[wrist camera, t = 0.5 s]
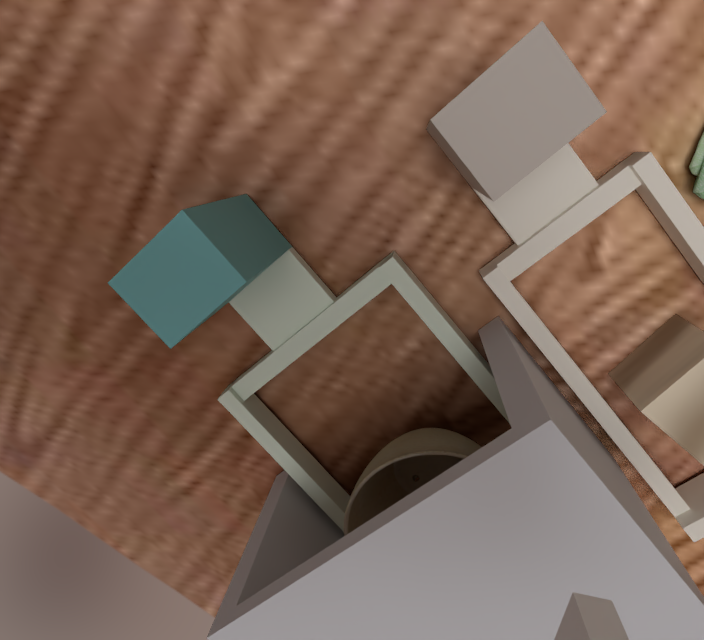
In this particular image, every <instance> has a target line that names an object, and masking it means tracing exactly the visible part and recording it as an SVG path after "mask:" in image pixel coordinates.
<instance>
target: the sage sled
mask: <svg viewBox="0 0 704 640" xmlns="http://www.w3.org/2000/svg"><path fill="white" fill-rule="evenodd" d="M108 284H109V285H110V286H111V287H112V288H113V289H114V290H115V291H116V292H117V293H118V294H119V295H120V296H121V297H122V298H123V299H124V301H125V302H126V303H127V304H128V305H129V306H130V307H131V308H132V309H133V310H134V311H135V312H136V313H137V314H138V315H139V316H140V317H141V318H142V319H143V321H144V322H145V323H146V324H147V325H148V326H149V327H150V328H151V329H152V330H153V331H154V332H155V333H156V334H157V335H158V336H159V337H160V338H161V339H162V340H163V342H164V343H165V344H166V345H167V346H168V347H169V348H170V349H171V348H172V347H174V346H175V345H176V344H177V343H178V342H180V341H181V340H182V339H183V338H185V337H186V336H187V335H188V334H190V333H191V332H192V331H193V330H195V329H196V328H197V327H198V326H200V325H201V324H202V323H203V322H205V321H206V320H207V319H208V318H210V317H211V316H212V315H213V314H215V313H216V312H217V311H218V310H220V309H221V308H222V307H223V306H225V305H226V304H227V303H228V302H229V303H230V304H231V306H232V307H233V308H234V309H235V310H236V311H237V312H238V313H239V314H240V315H241V316H242V318H243V319H244V320H245V321H246V322H247V323H248V324H249V325H250V326H251V327H252V329H253V330H254V331H255V332H256V333H257V334H258V335H259V336H260V337H261V338H262V340H263V341H264V342H265V343H266V344H267V345H268V346H269V347H270V348H271V349H272V350H271V351H270V352H269V353H268V354H267V355H265V356H264V357H263V358H262V359H260V360H259V361H258V362H257V363H256V364H254V365H253V366H252V367H251V368H249V369H248V370H247V371H246V372H244V373H243V374H242V375H241V376H240V377H238V378H237V379H236V380H235V381H233V382H232V383H231V384H230V385H229V386H228V387H227V388H226V389H225V390H224V392H223V393H222V394H221V395H220V397H219V398H218V401H219V402H220V403H221V404H222V405H223V406H224V407H225V408H226V409H227V410H228V411H229V412H230V413H231V414H232V415H233V416H234V417H235V418H236V419H237V420H238V422H239V423H240V424H241V425H242V426H243V427H244V428H245V429H246V430H247V431H248V432H249V433H250V434H251V435H252V436H253V437H254V438H255V439H256V440H257V441H258V443H259V444H260V445H261V446H262V447H263V448H264V449H265V450H266V451H267V452H268V453H269V454H270V455H271V456H272V457H273V458H274V459H275V460H276V461H277V462H278V464H279V465H280V466H281V467H282V468H283V469H284V470H285V471H286V472H287V473H288V474H289V475H290V476H291V477H292V478H293V479H294V480H295V481H296V482H297V483H298V485H299V486H300V487H301V488H302V489H303V490H304V491H305V492H306V493H307V494H308V495H309V496H310V497H311V498H312V499H313V500H314V501H315V502H316V503H317V505H318V506H319V507H320V508H321V509H322V510H323V511H324V512H325V513H326V514H327V515H328V516H329V517H330V518H331V519H332V520H333V521H334V522H335V523H336V524H337V526H338V527H339V528H340V529H341V530H342V531H343V532H344V516H345V511H346V508H347V505H348V502H349V499H350V496H349V495H348V493H347V492H346V491H345V490H344V489H343V488H342V487H341V486H340V485H339V484H338V483H337V482H336V481H335V480H334V479H333V477H332V476H331V475H330V474H329V473H328V472H327V471H326V470H325V469H324V468H323V467H322V466H321V465H320V464H319V462H318V461H317V460H316V459H315V458H314V457H313V456H312V455H311V454H310V453H309V452H308V451H307V450H306V449H305V448H304V446H303V445H302V444H301V443H300V442H299V441H298V440H297V439H296V438H295V437H294V436H293V435H292V434H291V433H290V431H289V430H288V429H287V428H286V427H285V426H284V425H283V424H282V423H281V422H280V421H279V420H278V419H277V418H276V417H275V415H274V414H273V413H272V412H271V411H270V410H269V409H268V408H267V407H266V406H265V405H264V404H263V403H262V402H261V400H260V399H259V398H258V397H257V396H256V395H255V394H254V393H255V392H256V391H257V390H258V389H260V388H261V387H262V386H263V385H265V384H266V383H267V382H269V381H270V380H271V379H272V378H274V377H275V376H276V375H277V374H279V373H280V372H281V371H282V370H284V369H285V368H286V367H287V366H289V365H290V364H291V363H292V362H294V361H295V360H296V359H297V358H299V357H300V356H301V355H302V354H304V353H305V352H306V351H307V350H309V349H310V348H311V347H313V346H314V345H315V344H316V343H318V342H319V341H320V340H321V339H323V338H324V337H325V336H326V335H328V334H329V333H330V332H331V331H333V330H334V329H335V328H336V327H338V326H339V325H340V324H341V323H343V322H344V321H345V320H346V319H348V318H349V317H350V316H352V315H353V314H354V313H355V312H357V311H358V310H359V309H360V308H362V307H363V306H364V305H365V304H367V303H368V302H369V301H370V300H372V299H373V298H374V297H375V296H377V295H378V294H379V293H380V292H382V291H383V290H384V289H385V288H387V287H388V286H389V285H391V284H392V285H393V286H394V287H395V288H396V289H397V291H398V292H399V293H400V294H401V295H402V296H403V298H404V299H405V300H406V301H407V302H408V304H409V305H410V306H411V307H412V308H413V310H414V311H415V312H416V313H417V314H418V315H419V317H420V318H421V319H422V320H423V321H424V323H425V324H426V325H427V326H428V327H429V329H430V330H431V331H432V332H433V333H434V334H435V336H436V337H437V338H438V339H439V340H440V342H441V343H442V344H443V345H444V346H445V348H446V349H447V350H448V351H449V352H450V354H451V355H452V356H453V357H454V358H455V359H456V361H457V362H458V363H459V364H460V365H461V367H462V368H463V369H464V370H465V371H466V373H467V374H468V375H469V376H470V377H471V378H472V380H473V381H474V382H475V383H476V384H477V386H478V387H479V388H480V389H481V390H482V392H483V393H484V394H485V395H486V396H487V397H488V399H489V400H490V401H491V402H492V403H493V405H494V406H495V407H496V408H497V409H498V411H499V412H500V413H501V414H502V415H503V416H504V418H505V419H506V420H507V421H508V422H509V419H508V416H507V413H506V411H505V408H504V405H503V402H502V399H501V396H500V393H499V390H498V387H497V384H496V382H495V379H494V376H493V373H492V370H491V367H490V365H489V364H488V363H487V362H486V360H485V359H484V358H483V357H482V356H481V354H480V353H479V352H478V351H477V350H476V348H475V347H474V346H473V345H472V343H471V342H470V341H469V340H468V339H467V337H466V336H465V335H464V334H463V333H462V331H461V330H460V329H459V328H458V327H457V325H456V324H455V323H454V322H453V321H452V319H451V318H450V317H449V316H448V315H447V313H446V312H445V311H444V310H443V309H442V307H441V306H440V305H439V304H438V303H437V301H436V300H435V299H434V298H433V296H432V295H431V294H430V293H429V292H428V290H427V289H426V288H425V287H424V286H423V284H422V283H421V282H420V281H419V280H418V278H417V277H416V276H415V275H414V274H413V272H412V271H411V270H410V269H409V268H408V266H407V265H406V264H405V263H404V262H403V260H402V259H401V258H400V257H399V256H398V254H397V253H396V252H395V251H393V252H392V253H390V254H389V255H388V256H387V257H385V258H384V259H383V260H382V261H381V262H379V263H378V264H377V265H376V266H374V267H373V268H372V269H371V270H369V271H368V272H367V273H366V274H365V275H363V276H362V277H361V278H360V279H358V280H357V281H356V282H355V283H354V284H352V285H351V286H350V287H349V288H347V289H346V290H345V291H344V292H343V293H341V294H340V295H339V296H338V297H336V296H335V295H334V294H333V293H332V292H331V291H330V289H329V288H328V287H327V286H326V285H325V284H324V283H323V281H322V280H321V279H320V278H319V277H318V276H317V274H316V273H315V272H314V271H313V270H312V269H311V268H310V266H309V265H308V264H307V263H306V262H305V261H304V260H303V258H302V257H301V256H300V255H299V254H298V253H297V251H296V250H295V249H294V248H293V247H292V246H291V245H290V243H289V242H288V241H287V240H286V239H285V238H284V236H283V235H282V234H281V233H280V232H279V231H278V230H277V228H276V227H275V226H274V225H273V224H272V223H271V221H270V220H269V219H268V218H267V217H266V216H265V215H264V213H263V212H262V211H261V210H260V209H259V208H258V207H257V205H256V204H255V203H254V202H253V201H252V200H251V198H250V197H249V196H248V195H247V194H244V195H240V196H236V197H232V198H228V199H224V200H220V201H216V202H211V203H207V204H203V205H199V206H195V207H191V208H187V209H183V210H181V211H180V212H179V213H178V214H177V215H176V216H175V217H174V218H173V219H172V220H171V221H170V222H169V223H168V224H167V225H166V226H165V227H164V228H163V229H162V230H161V231H160V232H159V233H158V234H157V235H156V236H155V237H154V238H153V239H152V240H151V241H150V242H149V243H148V244H147V245H146V246H145V247H144V248H143V249H142V250H141V251H140V252H139V253H138V254H137V255H136V256H135V257H134V258H133V259H132V260H131V261H130V262H128V263H127V264H126V265H125V266H124V267H123V268H122V269H121V270H120V271H119V272H118V273H117V274H116V275H115V276H114V277H113V278H112V279H111V280H110V281H109V282H108ZM509 424H510V422H509Z"/></svg>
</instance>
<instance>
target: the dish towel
mask: <svg viewBox="0 0 704 640" xmlns="http://www.w3.org/2000/svg"><path fill="white" fill-rule="evenodd" d="M689 168H690V171H691V173H692V174H693V175H696V176H697V178H696V180H695V183H694V189H693V193H695V194H696V195H697V196H698V197H700V198H702V199H704V132H703V134H702V136H701V138H700V141H699V143H698V146H697V149H696V152H695V154H694V156H693V158H692V161H691V163H690V166H689Z"/></svg>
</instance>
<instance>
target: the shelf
mask: <svg viewBox="0 0 704 640" xmlns="http://www.w3.org/2000/svg"><path fill="white" fill-rule="evenodd" d="M478 332H479V335H480V338H481V341H482V344H483V347H484V350H485V353H486V356H487V358H488V361H489V364H490V367H491V370H492V373H493V376H494V379H495V382H496V384H497V387H498V390H499V393H500V396H501V399H502V402H503V405H504V408H505V411H506V413H507V416H508V419H509V422H510V425H511V429H510V430H508V431H507V432H505V433H504V434H502V435H500V436H499V437H497V438H496V439H494V440H493V441H491V442H490V443H488V444H486V445H485V446H483V447H482V448H480V449H479V450H477V451H476V452H474V453H473V454H471V455H469V456H468V457H466V458H465V459H463V460H462V461H460V462H459V463H457V464H456V465H454V466H452V467H451V468H449V469H448V470H446V471H445V472H443V473H442V474H440V475H438V476H437V477H435V478H434V479H432V480H431V481H429V482H428V483H426V484H425V485H423V486H421V487H420V488H418V489H417V490H415V491H414V492H412V493H411V494H409V495H407V496H406V497H404V498H403V499H401V500H400V501H398V502H397V503H395V504H394V505H392V506H390V507H389V508H387V509H386V510H384V511H383V512H381V513H380V514H378V515H377V516H375V517H373V518H372V519H370V520H369V521H367V522H366V523H364V524H363V525H361V526H359V527H358V528H356V529H355V530H353V531H352V532H350V533H349V534H347V535H346V536H344V532H343V531H342V530H341V529H340V528H339V527H338V526H337V524H336V523H335V522H334V521H333V520H332V519H331V518H330V517H329V516H328V515H327V514H326V513H325V512H324V511H323V510H322V509H321V508H320V507H319V506H318V505H317V503H316V502H315V501H314V500H313V499H312V498H311V497H310V496H309V495H308V494H307V493H306V492H305V491H304V490H303V489H302V488H301V487H300V486H299V485H298V483H297V482H296V481H295V480H294V479H293V478H292V477H291V476H290V475H289V474H288V473H287V472H286V471H285V470H284V471H283V472H281V473H280V474H278V475H277V476H276V478H275V480H274V483H273V485H272V487H271V490H270V492H269V494H268V497H267V499H266V501H265V504H264V506H263V508H262V511H261V513H260V515H259V518H258V520H257V522H256V525H255V527H254V529H253V532H252V534H251V536H250V539H249V541H248V543H247V545H246V548H245V550H244V552H243V555H242V557H241V559H240V562H239V564H238V566H237V569H236V571H235V573H234V576H233V578H232V580H231V583H230V585H229V587H228V590H227V592H226V594H225V597H224V599H223V601H222V603H221V606H220V608H219V610H218V613H217V615H216V617H215V620H214V622H213V624H212V627H211V629H210V631H209V634H208V636H207V639H208V640H554V639H555V636H556V634H557V631H558V628H559V626H560V623H561V621H562V618H563V616H564V613H565V611H566V608H567V606H568V603H569V601H570V598H571V596H572V593H573V592H575V593H580V594H584V595H589V596H593V597H598V598H603V599H607V600H612V602H613V604H614V606H615V609H616V611H617V613H618V615H619V618H620V620H621V622H622V625H623V627H624V629H625V631H626V634H627V636H628V638H629V640H704V597H703V595H702V594H701V592H700V591H699V589H698V588H697V586H696V584H695V583H694V581H693V580H692V578H691V577H690V575H689V574H688V572H687V570H686V569H685V567H684V566H683V564H682V563H681V561H680V560H679V558H678V557H677V555H676V553H675V552H674V550H673V549H672V547H671V546H670V544H669V543H668V541H667V540H666V538H665V536H664V535H663V533H662V532H661V530H660V529H659V527H658V526H657V524H656V522H655V521H654V519H653V518H652V516H651V515H650V513H649V512H648V510H647V509H646V507H645V505H644V504H643V502H642V501H641V499H640V498H639V496H638V495H637V493H636V492H635V490H634V488H633V487H632V485H631V484H630V482H629V481H628V479H627V478H626V476H625V474H624V473H623V471H622V470H621V468H620V467H619V465H618V464H617V462H616V461H615V459H614V458H613V456H612V455H611V454H610V453H609V451H608V450H607V449H606V448H605V446H604V445H603V444H602V443H601V441H600V440H599V439H598V438H597V437H596V435H595V434H594V433H593V432H592V430H591V429H590V428H589V427H588V425H587V424H586V423H585V422H584V421H583V419H582V418H581V417H580V416H579V414H578V413H577V412H576V411H575V409H574V408H573V407H572V406H571V404H570V403H569V402H568V401H567V400H566V398H565V397H564V396H563V395H562V393H561V392H560V391H559V390H558V388H557V387H556V386H555V385H554V383H553V382H552V381H551V380H550V379H549V377H548V376H547V375H546V374H545V372H544V371H543V370H542V369H541V367H540V366H539V365H538V364H537V363H536V361H535V360H534V359H533V358H532V356H531V355H530V354H529V353H528V351H527V350H526V349H525V348H524V346H523V345H522V344H521V343H520V342H519V340H518V339H517V338H516V337H515V335H514V334H513V333H512V332H511V330H510V329H509V328H508V327H507V325H506V324H505V323H504V322H503V321H502V319H501V318H500V317H499V316H497V317H496V318H495V319H493V320H492V321H490V322H489V323H488V324H486V325H485V326H484V327H482V328H481V329H479V330H478Z"/></svg>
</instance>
